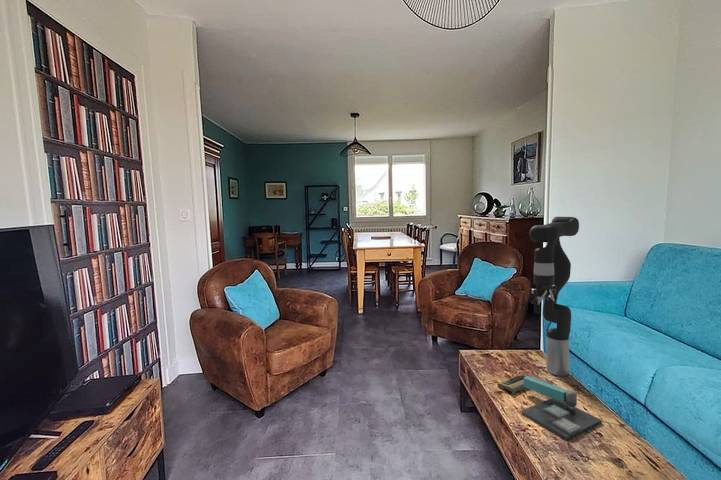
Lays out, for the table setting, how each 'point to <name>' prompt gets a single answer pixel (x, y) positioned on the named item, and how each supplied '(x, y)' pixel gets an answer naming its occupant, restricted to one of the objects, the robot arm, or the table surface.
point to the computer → (513, 384)
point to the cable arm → (551, 391)
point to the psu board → (561, 418)
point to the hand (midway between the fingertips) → (543, 311)
